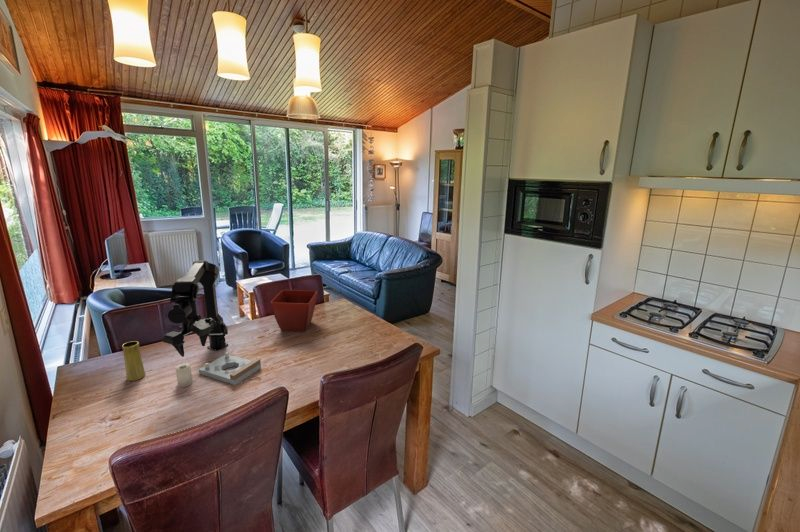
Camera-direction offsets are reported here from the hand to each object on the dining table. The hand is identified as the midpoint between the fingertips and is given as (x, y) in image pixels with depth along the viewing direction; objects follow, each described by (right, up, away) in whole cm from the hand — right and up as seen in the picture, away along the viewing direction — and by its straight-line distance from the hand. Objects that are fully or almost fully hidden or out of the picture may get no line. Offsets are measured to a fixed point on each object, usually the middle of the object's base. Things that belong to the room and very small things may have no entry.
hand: (193, 351), depth 143 cm
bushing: (-4, -13, +1) cm, 13 cm away
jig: (+10, -10, +10) cm, 18 cm away
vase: (-25, -11, +4) cm, 28 cm away
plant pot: (+25, +1, +54) cm, 59 cm away
